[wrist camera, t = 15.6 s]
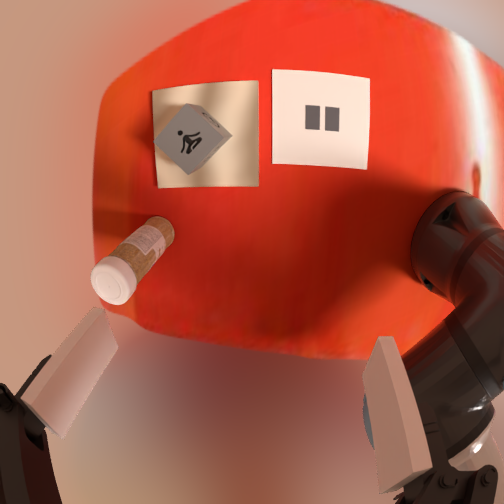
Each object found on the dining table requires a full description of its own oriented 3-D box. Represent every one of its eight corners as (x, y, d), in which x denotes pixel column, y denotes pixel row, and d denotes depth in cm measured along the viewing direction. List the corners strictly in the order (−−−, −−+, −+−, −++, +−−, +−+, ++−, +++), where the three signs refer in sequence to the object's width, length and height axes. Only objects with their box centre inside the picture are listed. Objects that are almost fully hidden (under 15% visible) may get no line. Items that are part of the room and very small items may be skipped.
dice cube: (201, 167, 29) (188, 175, 25) (171, 138, 28) (152, 141, 23) (232, 135, 27) (224, 137, 23) (200, 105, 26) (186, 103, 22)
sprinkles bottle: (166, 252, 36) (120, 314, 24) (139, 233, 35) (84, 287, 23) (181, 227, 34) (135, 285, 22) (153, 207, 33) (95, 255, 21)
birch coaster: (258, 81, 25) (257, 80, 24) (258, 184, 31) (258, 186, 30) (156, 91, 26) (152, 90, 25) (161, 186, 32) (158, 188, 31)
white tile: (369, 78, 23) (369, 78, 23) (366, 169, 28) (366, 169, 28) (272, 69, 24) (272, 69, 24) (272, 163, 29) (272, 163, 29)
